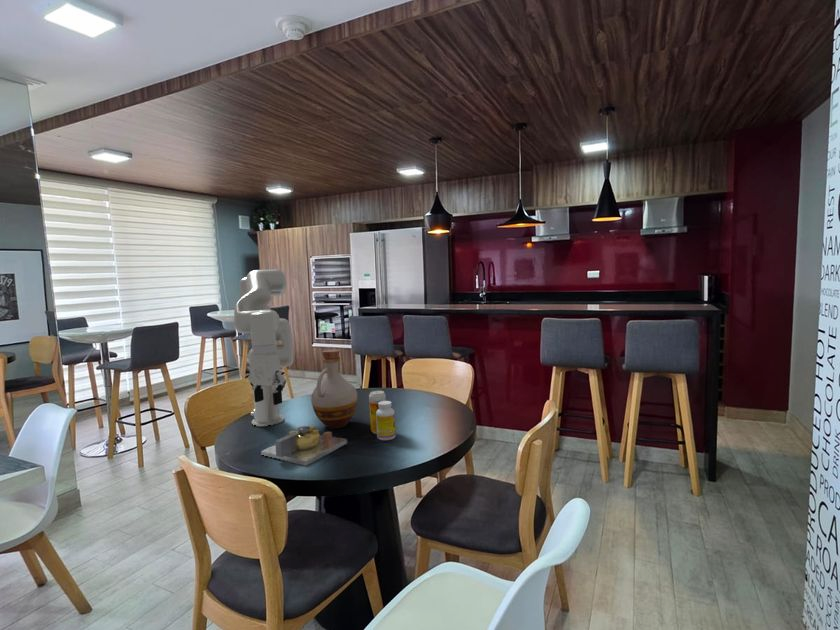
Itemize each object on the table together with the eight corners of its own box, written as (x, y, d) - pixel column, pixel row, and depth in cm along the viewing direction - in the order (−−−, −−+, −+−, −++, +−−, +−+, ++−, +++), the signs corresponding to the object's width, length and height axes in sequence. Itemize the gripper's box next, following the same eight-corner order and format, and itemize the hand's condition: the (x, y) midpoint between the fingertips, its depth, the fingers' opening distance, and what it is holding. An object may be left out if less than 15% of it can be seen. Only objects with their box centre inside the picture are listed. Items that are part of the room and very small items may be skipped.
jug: (342, 437, 161) (335, 356, 157) (301, 432, 167) (294, 355, 164) (367, 418, 179) (362, 346, 175) (330, 415, 185) (324, 345, 182)
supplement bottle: (396, 440, 155) (395, 404, 154) (378, 442, 154) (376, 406, 153) (394, 433, 161) (393, 399, 160) (376, 435, 160) (374, 400, 159)
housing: (261, 455, 146) (259, 436, 146) (304, 435, 164) (303, 418, 163) (306, 465, 136) (304, 445, 136) (346, 443, 154) (345, 425, 153)
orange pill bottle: (373, 435, 160) (371, 395, 159) (368, 430, 166) (366, 391, 164) (389, 432, 162) (387, 393, 161) (384, 427, 168) (382, 389, 167)
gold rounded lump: (304, 436, 157) (303, 421, 156) (326, 440, 152) (325, 425, 151) (268, 454, 142) (266, 437, 142) (290, 459, 137) (289, 442, 137)
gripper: (236, 350, 144) (241, 403, 145) (274, 353, 135) (278, 408, 137) (255, 347, 150) (259, 397, 152) (292, 349, 142) (296, 402, 143)
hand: (268, 402), depth 144 cm, fingers open, 8 cm apart
